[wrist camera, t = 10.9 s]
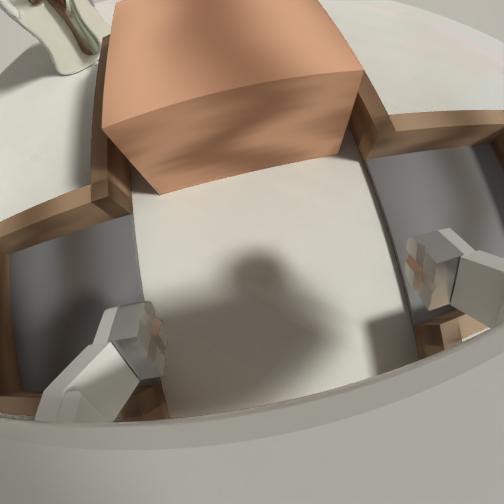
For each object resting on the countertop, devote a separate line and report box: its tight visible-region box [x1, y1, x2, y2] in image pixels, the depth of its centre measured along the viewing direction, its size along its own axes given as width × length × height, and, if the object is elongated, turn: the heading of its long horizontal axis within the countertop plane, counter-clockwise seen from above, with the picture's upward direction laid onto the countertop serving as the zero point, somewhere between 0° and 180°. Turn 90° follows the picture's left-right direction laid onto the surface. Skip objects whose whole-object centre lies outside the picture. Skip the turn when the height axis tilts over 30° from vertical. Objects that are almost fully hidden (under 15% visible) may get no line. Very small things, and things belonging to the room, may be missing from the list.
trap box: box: [0, 34, 504, 422], centre depth 14 cm, size 35×33×3 cm
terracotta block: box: [102, 0, 364, 195], centre depth 15 cm, size 10×10×7 cm
